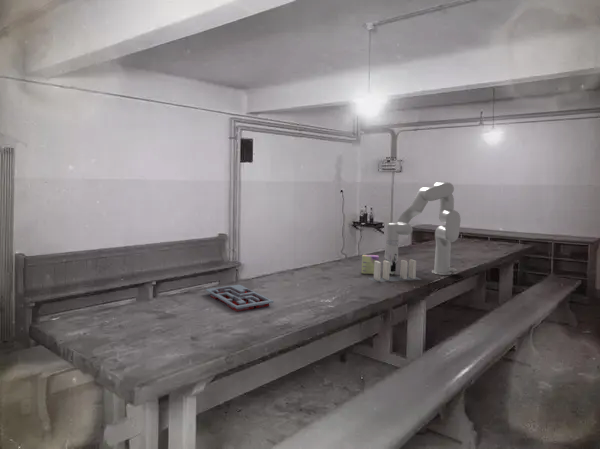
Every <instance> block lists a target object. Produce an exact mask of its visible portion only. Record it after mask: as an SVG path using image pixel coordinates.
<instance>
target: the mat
mask: <svg viewBox="0 0 600 449" xmlns="http://www.w3.org/2000/svg"><path fill="white" fill-rule="evenodd" d="M367 279H368V280H370V281H372V282H373V283H381V282H382V283H383V282H399V281H400V282H402V281H416V280H418V281H420V280H422V278H419V277H418V276H415V279H412V278H410V277H409V275H407V279H402V278H400V275H397V276H389V280H385V279H383V276H382V277H381V276H380V281H377V280H375V279H374V277H367Z"/></svg>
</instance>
